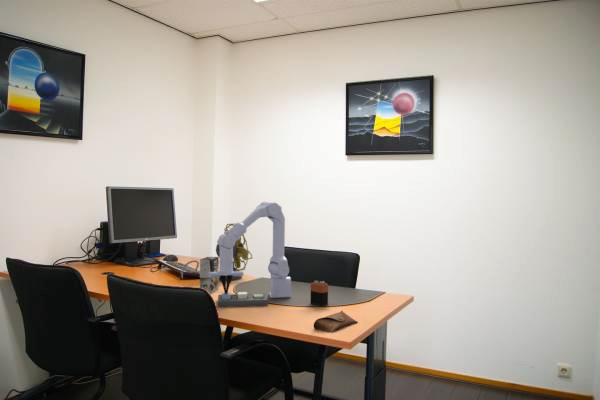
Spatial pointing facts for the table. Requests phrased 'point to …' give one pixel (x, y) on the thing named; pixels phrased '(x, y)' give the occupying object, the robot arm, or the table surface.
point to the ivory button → (242, 295)
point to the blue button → (226, 296)
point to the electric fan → (237, 253)
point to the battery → (319, 293)
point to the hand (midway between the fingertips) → (226, 293)
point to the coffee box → (205, 267)
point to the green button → (258, 295)
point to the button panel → (242, 301)
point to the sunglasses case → (333, 322)
